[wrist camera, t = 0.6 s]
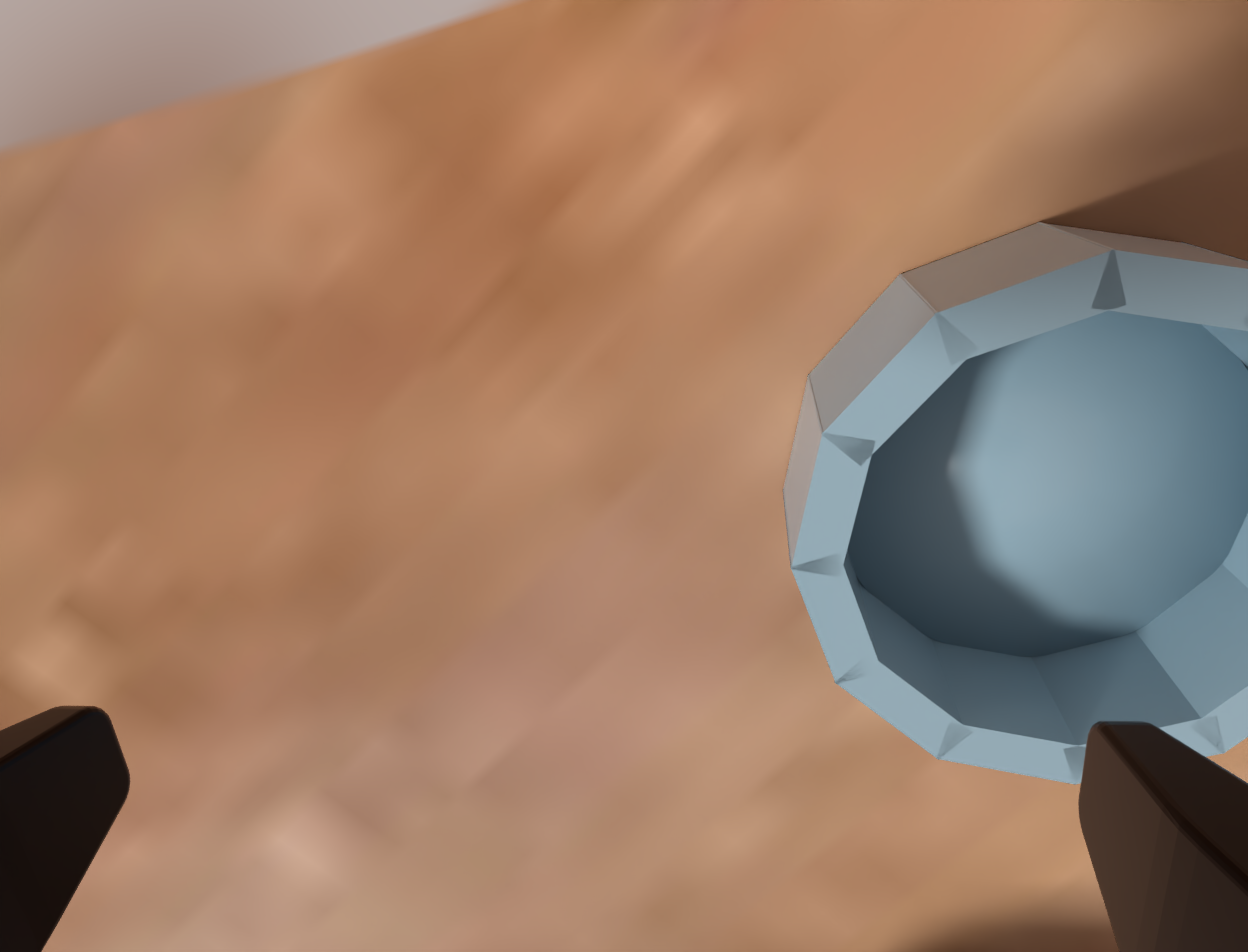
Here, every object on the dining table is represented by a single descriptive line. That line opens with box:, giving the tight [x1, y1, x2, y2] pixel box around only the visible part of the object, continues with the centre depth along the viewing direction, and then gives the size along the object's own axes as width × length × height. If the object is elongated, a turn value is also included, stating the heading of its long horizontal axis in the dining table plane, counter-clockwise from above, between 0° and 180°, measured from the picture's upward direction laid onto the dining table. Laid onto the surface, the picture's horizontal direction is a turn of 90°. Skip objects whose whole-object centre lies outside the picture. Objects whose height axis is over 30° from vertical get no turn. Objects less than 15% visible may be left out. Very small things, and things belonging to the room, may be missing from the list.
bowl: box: [783, 222, 1248, 784], centre depth 18 cm, size 11×11×4 cm
